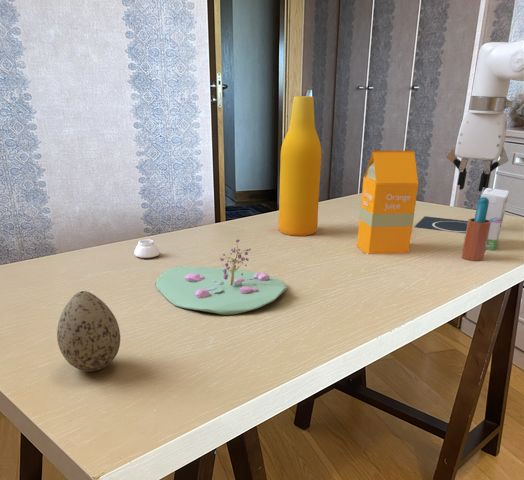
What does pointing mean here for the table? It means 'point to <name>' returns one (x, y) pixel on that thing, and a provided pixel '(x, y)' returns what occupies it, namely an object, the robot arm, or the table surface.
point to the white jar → (146, 249)
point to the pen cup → (475, 240)
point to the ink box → (495, 214)
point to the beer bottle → (300, 172)
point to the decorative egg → (88, 333)
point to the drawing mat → (443, 224)
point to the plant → (219, 287)
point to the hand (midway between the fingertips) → (471, 188)
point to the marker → (481, 210)
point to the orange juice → (388, 203)
